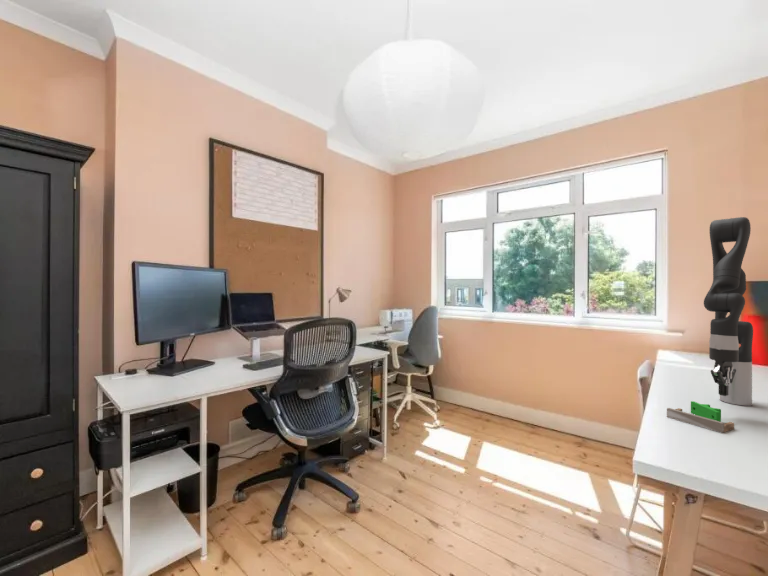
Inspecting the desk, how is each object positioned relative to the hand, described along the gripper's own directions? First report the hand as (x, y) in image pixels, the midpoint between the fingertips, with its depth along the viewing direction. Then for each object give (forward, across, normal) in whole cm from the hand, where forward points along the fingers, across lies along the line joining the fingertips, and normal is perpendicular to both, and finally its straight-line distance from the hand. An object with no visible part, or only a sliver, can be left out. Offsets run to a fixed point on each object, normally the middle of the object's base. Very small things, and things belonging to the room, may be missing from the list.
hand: (723, 395), depth 123 cm
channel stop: (+8, +16, 0) cm, 18 cm away
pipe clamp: (+8, +9, -1) cm, 12 cm away
